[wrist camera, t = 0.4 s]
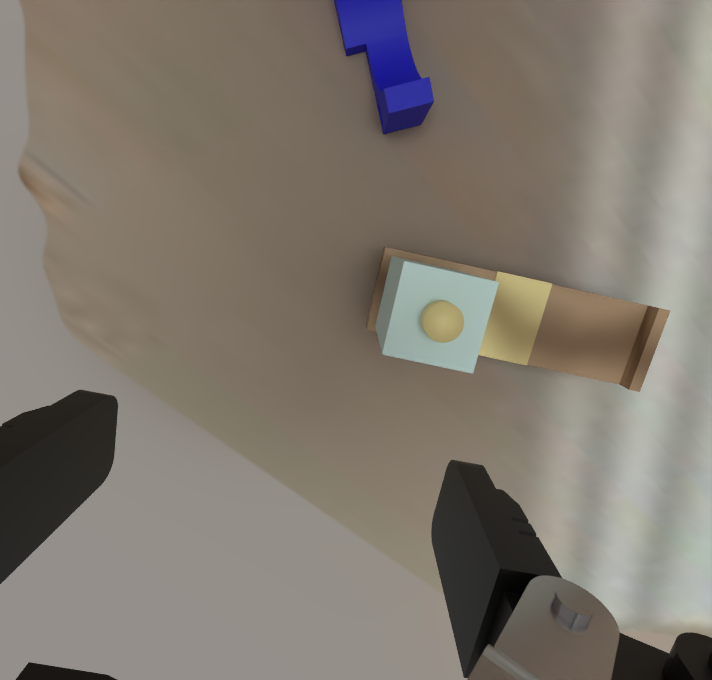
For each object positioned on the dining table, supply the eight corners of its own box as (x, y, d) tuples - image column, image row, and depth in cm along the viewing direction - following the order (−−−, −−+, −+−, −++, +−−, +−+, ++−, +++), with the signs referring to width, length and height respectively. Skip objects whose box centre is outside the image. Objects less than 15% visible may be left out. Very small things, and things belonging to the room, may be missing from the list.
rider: (391, 255, 30) (407, 262, 21) (462, 271, 30) (507, 284, 21) (375, 326, 31) (383, 360, 22) (443, 340, 31) (479, 380, 22)
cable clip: (326, -32, 32) (320, -93, 26) (386, -49, 32) (393, -114, 26) (364, 139, 35) (366, 119, 29) (420, 125, 35) (433, 101, 29)
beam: (380, 245, 36) (387, 246, 29) (611, 297, 37) (670, 310, 30) (364, 316, 38) (367, 334, 31) (587, 364, 39) (639, 392, 32)
